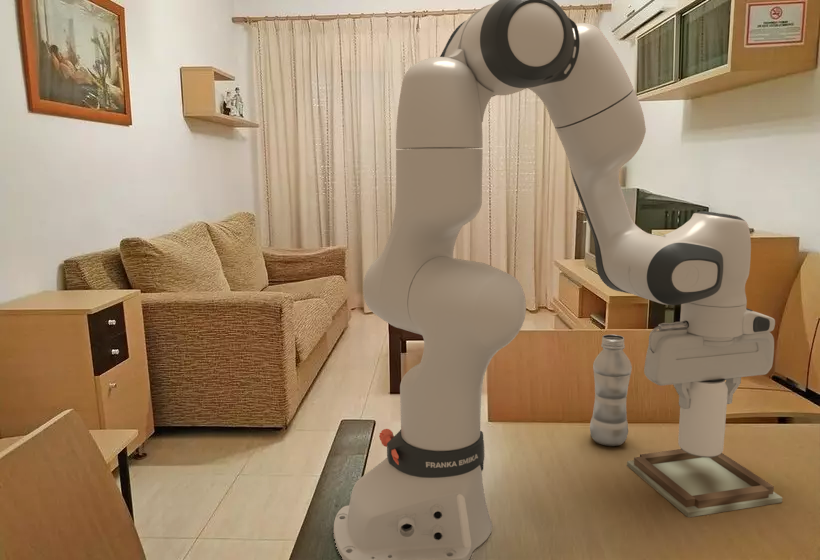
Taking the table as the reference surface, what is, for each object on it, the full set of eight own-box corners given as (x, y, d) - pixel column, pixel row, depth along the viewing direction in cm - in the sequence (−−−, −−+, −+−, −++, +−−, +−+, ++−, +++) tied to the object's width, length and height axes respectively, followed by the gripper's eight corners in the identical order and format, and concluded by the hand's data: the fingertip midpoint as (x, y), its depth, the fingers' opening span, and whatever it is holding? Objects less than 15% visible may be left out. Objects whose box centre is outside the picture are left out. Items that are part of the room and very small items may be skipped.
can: (732, 455, 96) (738, 381, 94) (696, 460, 94) (701, 385, 92) (703, 438, 102) (708, 368, 100) (669, 443, 101) (673, 371, 98)
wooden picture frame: (687, 517, 90) (688, 504, 90) (626, 465, 105) (627, 454, 105) (781, 502, 93) (783, 490, 93) (709, 454, 109) (710, 443, 108)
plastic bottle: (586, 434, 118) (590, 331, 114) (624, 435, 117) (629, 332, 113) (591, 449, 111) (596, 342, 107) (631, 451, 110) (636, 343, 107)
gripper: (663, 329, 89) (657, 420, 92) (785, 319, 93) (776, 406, 96) (638, 319, 95) (633, 404, 98) (753, 309, 99) (746, 391, 102)
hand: (705, 405), depth 97 cm, fingers closed on can, 5 cm apart
